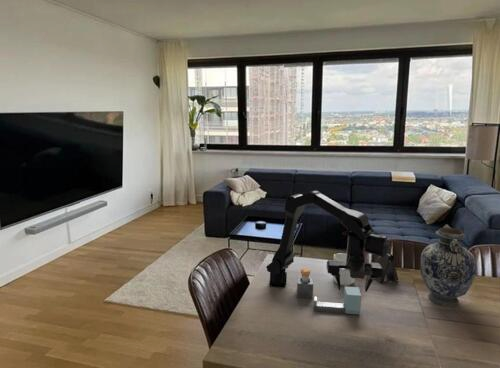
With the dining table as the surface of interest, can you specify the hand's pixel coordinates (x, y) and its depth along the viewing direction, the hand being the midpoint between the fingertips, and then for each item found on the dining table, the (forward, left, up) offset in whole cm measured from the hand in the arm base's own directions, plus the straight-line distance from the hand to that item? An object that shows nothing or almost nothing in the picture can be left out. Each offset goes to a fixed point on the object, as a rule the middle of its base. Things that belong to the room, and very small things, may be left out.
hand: (352, 290), depth 127 cm
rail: (-5, 0, -8) cm, 10 cm away
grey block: (0, 0, -8) cm, 8 cm away
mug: (0, +24, -8) cm, 26 cm away
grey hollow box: (-16, +10, -8) cm, 21 cm away
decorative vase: (+37, +13, -8) cm, 40 cm away
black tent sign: (+19, +28, -8) cm, 35 cm away
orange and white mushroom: (-16, +10, -6) cm, 20 cm away
